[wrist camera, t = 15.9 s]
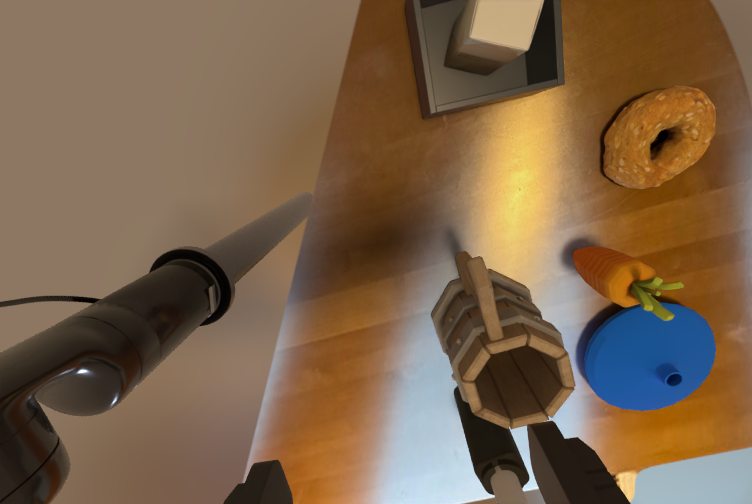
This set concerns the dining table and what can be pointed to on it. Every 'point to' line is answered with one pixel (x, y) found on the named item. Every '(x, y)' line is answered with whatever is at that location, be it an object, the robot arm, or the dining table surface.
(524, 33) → the box
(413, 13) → the bin
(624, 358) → the vase
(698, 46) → the dining table surface
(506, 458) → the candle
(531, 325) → the tankard
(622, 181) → the bagel
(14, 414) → the robot arm
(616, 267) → the carrot
